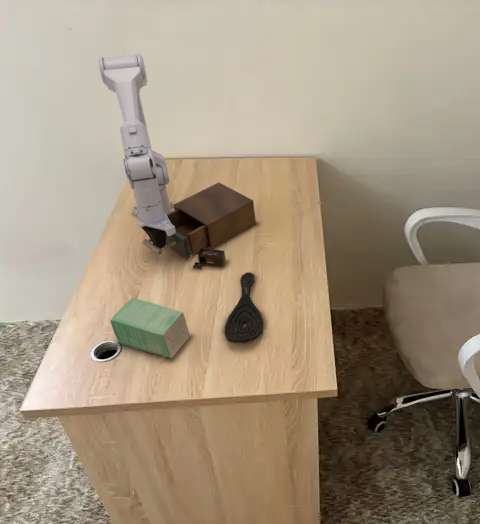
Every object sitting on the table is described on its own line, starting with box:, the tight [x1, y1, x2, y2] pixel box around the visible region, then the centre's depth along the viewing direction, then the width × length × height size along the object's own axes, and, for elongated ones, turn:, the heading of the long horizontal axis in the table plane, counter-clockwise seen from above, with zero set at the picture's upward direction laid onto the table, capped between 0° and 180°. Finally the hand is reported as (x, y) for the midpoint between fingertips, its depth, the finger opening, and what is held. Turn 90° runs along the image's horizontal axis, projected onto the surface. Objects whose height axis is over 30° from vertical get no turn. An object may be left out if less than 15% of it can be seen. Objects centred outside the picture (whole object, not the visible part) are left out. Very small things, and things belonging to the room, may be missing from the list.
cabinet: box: [173, 181, 257, 250], centre depth 154 cm, size 15×14×8 cm
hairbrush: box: [224, 272, 264, 344], centre depth 130 cm, size 8×4×25 cm
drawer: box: [142, 209, 210, 260], centre depth 148 cm, size 20×13×6 cm, turn 139°
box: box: [110, 297, 190, 359], centre depth 121 cm, size 7×14×8 cm, turn 70°
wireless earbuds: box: [192, 248, 227, 269], centre depth 142 cm, size 5×7×3 cm, turn 81°
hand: (160, 247), depth 144 cm, fingers closed, pressing on drawer
